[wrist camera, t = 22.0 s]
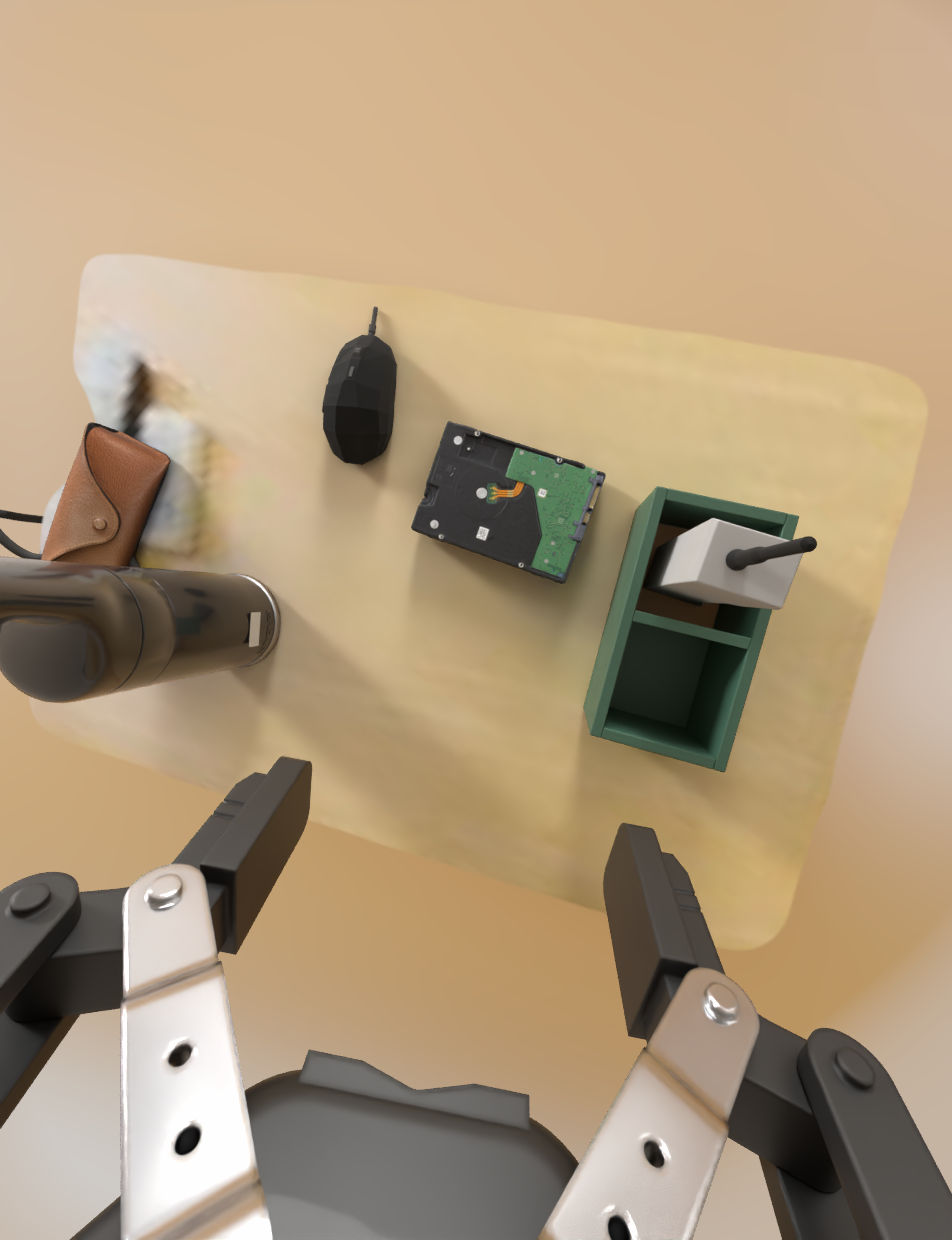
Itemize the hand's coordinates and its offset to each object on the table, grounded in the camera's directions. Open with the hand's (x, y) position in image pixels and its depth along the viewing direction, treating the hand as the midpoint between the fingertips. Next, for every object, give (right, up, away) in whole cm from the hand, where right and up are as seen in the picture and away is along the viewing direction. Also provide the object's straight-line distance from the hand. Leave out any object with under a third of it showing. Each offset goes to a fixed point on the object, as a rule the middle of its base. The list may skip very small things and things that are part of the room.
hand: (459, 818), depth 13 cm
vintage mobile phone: (+18, +9, +32) cm, 37 cm away
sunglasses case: (-37, +15, +41) cm, 58 cm away
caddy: (+17, +5, +33) cm, 37 cm away
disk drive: (+3, +16, +35) cm, 38 cm away
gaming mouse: (-10, +27, +36) cm, 46 cm away
